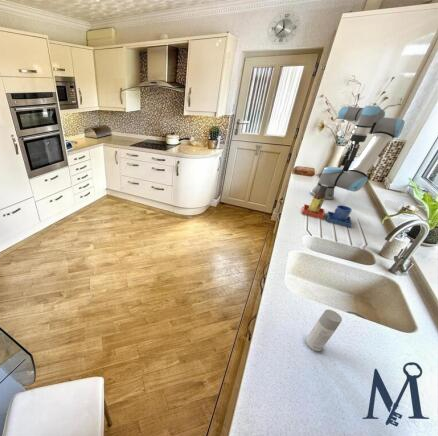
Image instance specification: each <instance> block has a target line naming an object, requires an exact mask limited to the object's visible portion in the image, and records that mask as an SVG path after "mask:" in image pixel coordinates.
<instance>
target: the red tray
mask: <svg viewBox="0 0 438 436" xmlns="http://www.w3.org/2000/svg"><path fill="white" fill-rule="evenodd" d="M309 206H310V204H305V203H304V204H303V206H302V212H301V214H302V215H305V216H309V217H313V218H317V219H321V220H324V218H325V208H322V207H321V208H320V210H319V212H318V213H317V214H316V213H312V212H308V208H309Z"/></svg>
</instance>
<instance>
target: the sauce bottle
mask: <svg viewBox="0 0 438 436" xmlns="http://www.w3.org/2000/svg"><path fill="white" fill-rule="evenodd" d="M327 188H328V186H327V185H324V184H321V186H320V189H319V191H318V192H316V193H315V195H314V196H313V197H312V199H311V201H310V204H309V208H308V212H312V213H316V214H317V213H318V212H319V210H320V208H322V206H323V203H324V202H325V200H326V199H325V192H326V190H327Z"/></svg>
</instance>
